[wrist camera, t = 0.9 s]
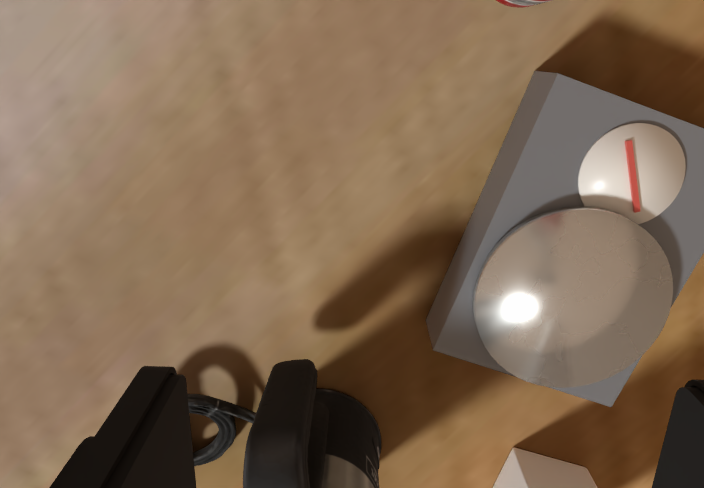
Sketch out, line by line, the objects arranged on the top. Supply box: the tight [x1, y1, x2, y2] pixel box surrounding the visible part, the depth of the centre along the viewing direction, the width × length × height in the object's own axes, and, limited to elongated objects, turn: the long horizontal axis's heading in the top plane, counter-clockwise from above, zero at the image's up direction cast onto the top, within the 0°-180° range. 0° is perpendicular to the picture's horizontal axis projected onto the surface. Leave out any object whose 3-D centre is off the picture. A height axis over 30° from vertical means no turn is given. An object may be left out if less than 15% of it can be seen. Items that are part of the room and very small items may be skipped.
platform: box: [473, 206, 673, 388], centre depth 32 cm, size 11×11×1 cm
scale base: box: [426, 71, 704, 407], centre depth 33 cm, size 17×12×4 cm
